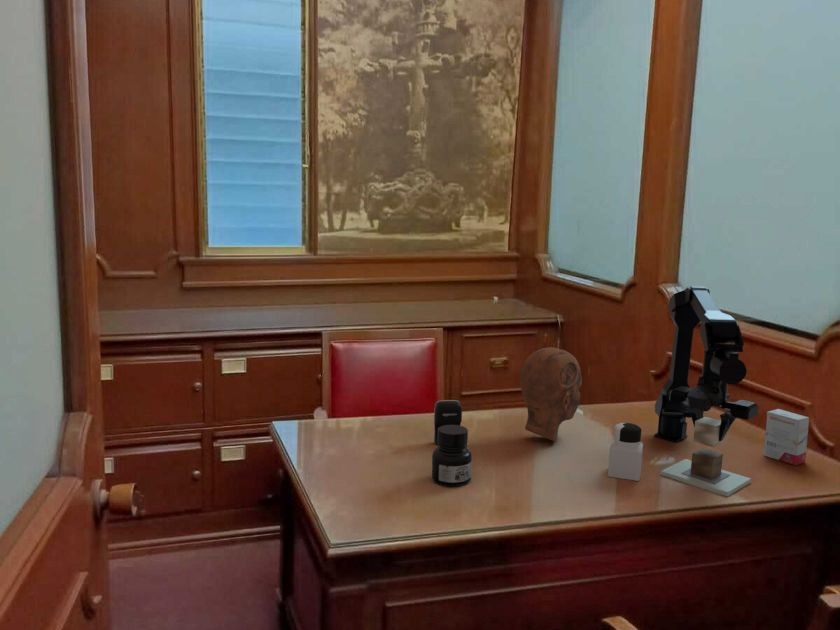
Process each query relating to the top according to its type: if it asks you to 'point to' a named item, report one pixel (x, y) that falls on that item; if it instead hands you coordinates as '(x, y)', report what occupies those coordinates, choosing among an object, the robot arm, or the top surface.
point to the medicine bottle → (626, 452)
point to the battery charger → (446, 415)
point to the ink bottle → (452, 456)
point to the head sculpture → (550, 390)
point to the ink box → (786, 436)
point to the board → (720, 484)
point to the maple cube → (707, 432)
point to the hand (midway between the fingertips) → (709, 437)
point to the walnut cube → (706, 463)
